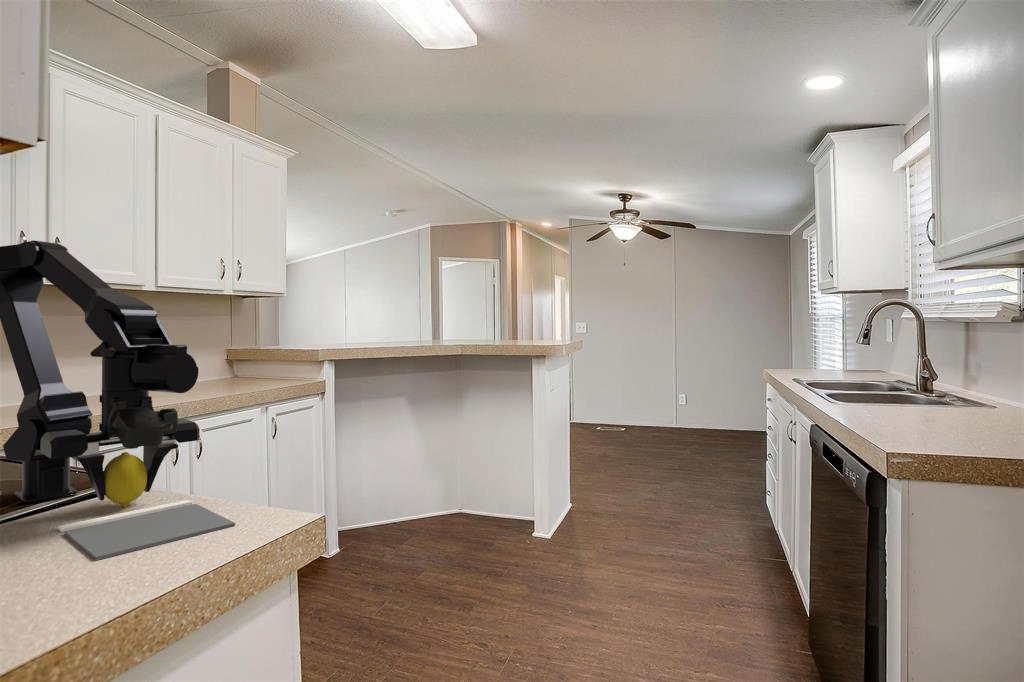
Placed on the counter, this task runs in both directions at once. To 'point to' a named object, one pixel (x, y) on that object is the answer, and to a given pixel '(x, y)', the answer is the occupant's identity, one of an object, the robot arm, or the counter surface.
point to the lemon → (124, 479)
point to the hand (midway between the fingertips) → (124, 495)
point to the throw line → (123, 515)
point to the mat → (146, 530)
